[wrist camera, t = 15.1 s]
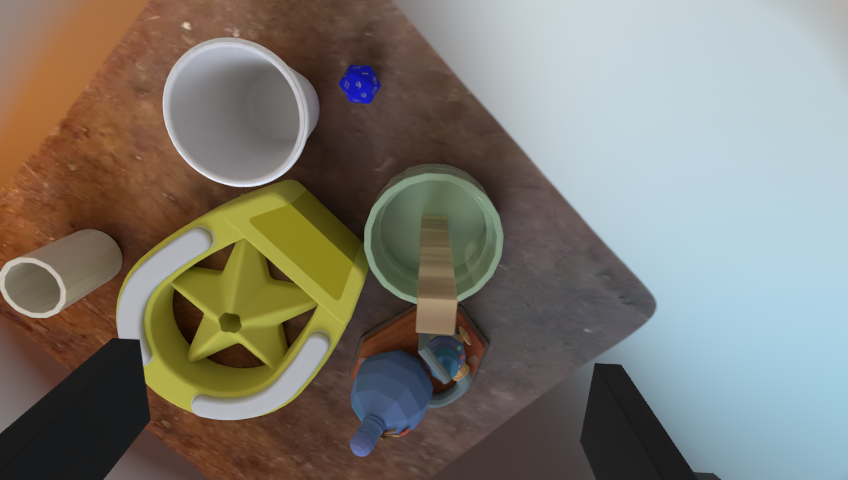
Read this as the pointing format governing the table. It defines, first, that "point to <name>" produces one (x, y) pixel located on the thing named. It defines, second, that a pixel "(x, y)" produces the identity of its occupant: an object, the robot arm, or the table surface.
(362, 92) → the die
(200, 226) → the toy steering wheel
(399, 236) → the bowl
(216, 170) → the dixie cup
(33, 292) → the holder
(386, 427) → the model
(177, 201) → the table surface
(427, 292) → the stick
